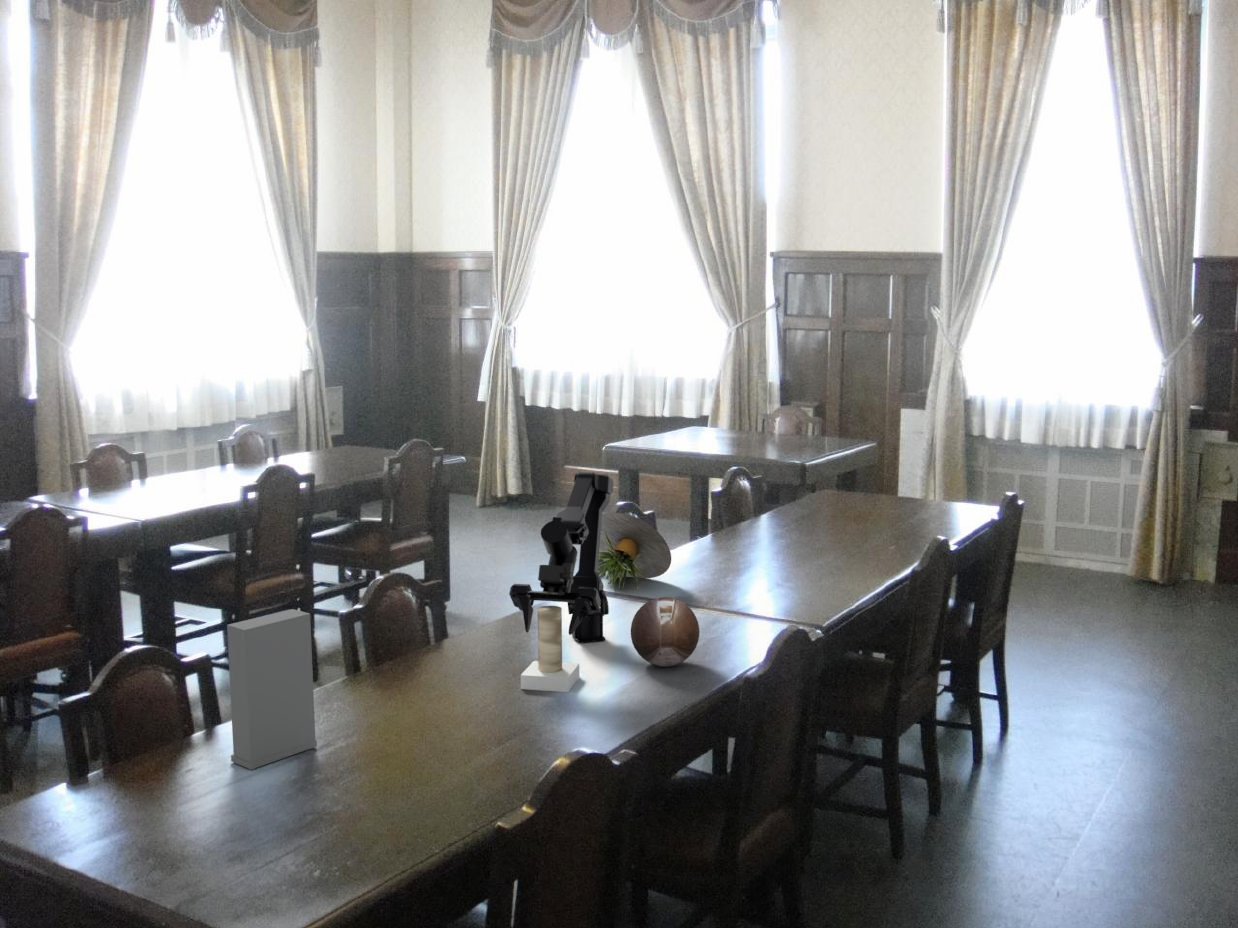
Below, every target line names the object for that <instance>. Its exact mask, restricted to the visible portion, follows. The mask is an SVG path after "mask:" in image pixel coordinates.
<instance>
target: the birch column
mask: <svg viewBox="0 0 1238 928" xmlns="http://www.w3.org/2000/svg"><path fill="white" fill-rule="evenodd" d="M562 610H563V609H562V607H561V606H558V605H544V606H543V605H542V606H539V607H538V608H537V655H538V656H537V661H538V670H539V671H541V672H545V673H555V672H559V671H561V670H562V662H563V625H562V623H563V622H562V619H563V617H562V616H563V613H562Z"/></svg>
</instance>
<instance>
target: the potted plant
mask: <svg viewBox="0 0 1238 928" xmlns="http://www.w3.org/2000/svg"><path fill="white" fill-rule="evenodd" d="M599 560H602V562H600V563H599V562H598V575H599V577H600V578H601V576H604V574H606V573H607V571H608V573H607V575H606V577H605V580H608V579H609V578H610V577H609V576H611V578H610V579H609V581H608V582H607V585H609V584H610V585H611V586H613V590H614V592H617V591H616V581H617V577H618V576H619V584H618V590H620V589H621V585H622V584H623V586H622V589H625V586H626V579H627V575H628V576H630V577H631V578H633V579H634V580H635V583H636V585H637V587H636V590H637V591H638V589H639V586H640V585H639V581H638V579H637V578H640V579H645V580H647V579H654V578H657V577H661V576H662V575H663V574H665V573H666V572H668V570H669V568H670V567H671V564H672V553H671V551H670V548H669V545H668V543H667V542H666V540H665V538H664V537H663V536H662V535H661V533H659V532H658V530H656V529H655V527H653V526H651V524H649V523H647V522H646V521H644V520H642V519H640V518H638V517H635V516H633V515H631V514H627V513H623V512H605V513H602V522H601V535H600V548H599ZM600 568H601V570H599V569H600ZM622 581H623V583H622Z"/></svg>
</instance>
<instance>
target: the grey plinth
mask: <svg viewBox="0 0 1238 928" xmlns="http://www.w3.org/2000/svg"><path fill="white" fill-rule="evenodd" d="M579 678H580V663H577V662H576V663H575V662H564V661H562V670H561V671H559V672H555V673H545V672H541V671H539V670H538V660H533V661H532V662H531V663H530V664H529V666H527V667H526V669H525V670H524V671H523V672H522V673H521V674H520V689H521V690H529V691H545V692H559V693H560V692H562V693H569V691H570V690H571V688H572V687H574V685H575V684H576V682H578V680H579Z"/></svg>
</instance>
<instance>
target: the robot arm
mask: <svg viewBox="0 0 1238 928" xmlns="http://www.w3.org/2000/svg"><path fill="white" fill-rule="evenodd" d="M573 481H574V483H573V487H572V490H571V493H570V494H569V497H568V500H567V503H566V505H565V508H564V509H563V510H561V511H559V512H558V513H557V514H556V515H555V516H553V517H552V520H551V521H548V522H547V523H546V524H544V526H542V528H541V530H540V537H541V540H542V543H543V544H544V548H545V550H546V553H547V554H548V555H549V559H548V564H539V569H538V577H537V580H538V581H540V582H539V586H540V588H542V590H532V587H531V584H528V583H513V584H512V585H511V586H510V589H509V592H508V595H509V597H510V599H511V602H512V605H513V606H514V607H516V608H518V609H519V611H522V615H523V621H524V622H523V623H524V630H525V632H526V633H529V632H530V629H531V624H532V620H533V619H532V618H533V613H534V608H533V606H534V602H535V601H539V602H540V601H542V602H554V603H555V602H557V603H560V602H561V603H567V612H568V615H571V618H570V622H569V625H568V635H569V636H571V637H572V638H574V639H575V640H576V641H577V642H578V643H590V642H600V641H602V642H603V641H606V637H605V636H604V629H603V628H604V616H605V615H609V614H610V613H609V612H610V611H609V609H610V607H609V600H608V598H607V594H606V591H605V590H604V583H603V580H602V578H601V576H600V577H599V575H600V574H599V573H598V571H599V569H598V567H599V566H598V564H599V548H600V535H601V522H602V514H603V513H604V511H605V509H606V508H607V506H608V505H609V503H610V501H611V495H612V494H613V492H614V479H612V478H611V477H610V476H609V474H606V473H605V474H604V473H603V474H602V473H601V474H599V473H595V472H593V471H591V472H590V471H578V472H576V473H575V474H574V480H573ZM574 545H578V546H579V545H580V549H579V559H577V558H578V550H577V548H576V547H575V546H574ZM577 560H579V561H578V570H577V572H575V568H576V562H577ZM574 573H575V574H574Z"/></svg>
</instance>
